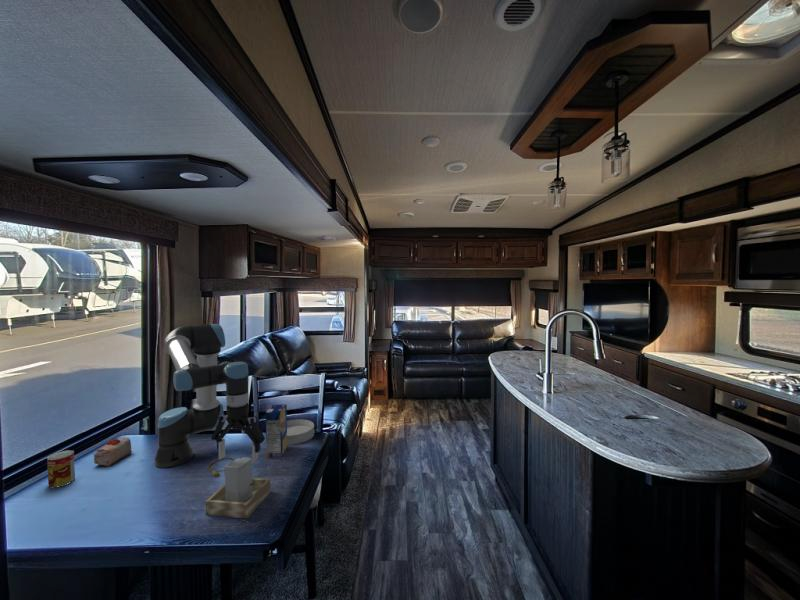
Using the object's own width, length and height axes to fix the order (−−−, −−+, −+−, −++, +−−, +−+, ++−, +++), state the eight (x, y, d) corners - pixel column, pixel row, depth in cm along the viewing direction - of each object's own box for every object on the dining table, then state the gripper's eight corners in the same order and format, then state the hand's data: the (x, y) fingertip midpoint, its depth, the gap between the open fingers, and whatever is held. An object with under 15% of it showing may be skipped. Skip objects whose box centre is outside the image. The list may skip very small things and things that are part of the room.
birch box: (205, 514, 122) (205, 501, 122) (233, 488, 138) (232, 476, 138) (247, 518, 120) (247, 504, 120) (270, 491, 136) (270, 479, 136)
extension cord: (198, 478, 146) (197, 474, 146) (216, 460, 161) (215, 456, 161) (227, 478, 146) (226, 473, 146) (242, 459, 162) (242, 455, 162)
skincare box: (238, 508, 124) (237, 468, 123) (224, 505, 126) (223, 466, 125) (253, 495, 132) (252, 457, 132) (240, 492, 134) (239, 455, 133)
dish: (281, 427, 198) (281, 419, 198) (319, 427, 198) (319, 419, 197) (265, 445, 176) (265, 435, 176) (307, 445, 176) (307, 436, 175)
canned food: (48, 483, 142) (46, 455, 141) (74, 475, 148) (73, 448, 147) (48, 490, 137) (47, 461, 136) (75, 482, 142) (74, 454, 142)
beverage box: (266, 457, 162) (265, 412, 162) (273, 447, 173) (272, 404, 172) (281, 457, 163) (280, 412, 162) (287, 446, 174) (286, 404, 173)
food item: (109, 467, 154) (108, 446, 154) (92, 467, 154) (91, 446, 154) (133, 453, 168) (133, 433, 167) (118, 453, 168) (117, 433, 167)
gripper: (200, 405, 125) (201, 461, 126) (263, 409, 122) (264, 466, 123) (213, 398, 133) (214, 451, 134) (274, 402, 129) (274, 456, 131)
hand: (238, 458), depth 128 cm, fingers open, 13 cm apart
